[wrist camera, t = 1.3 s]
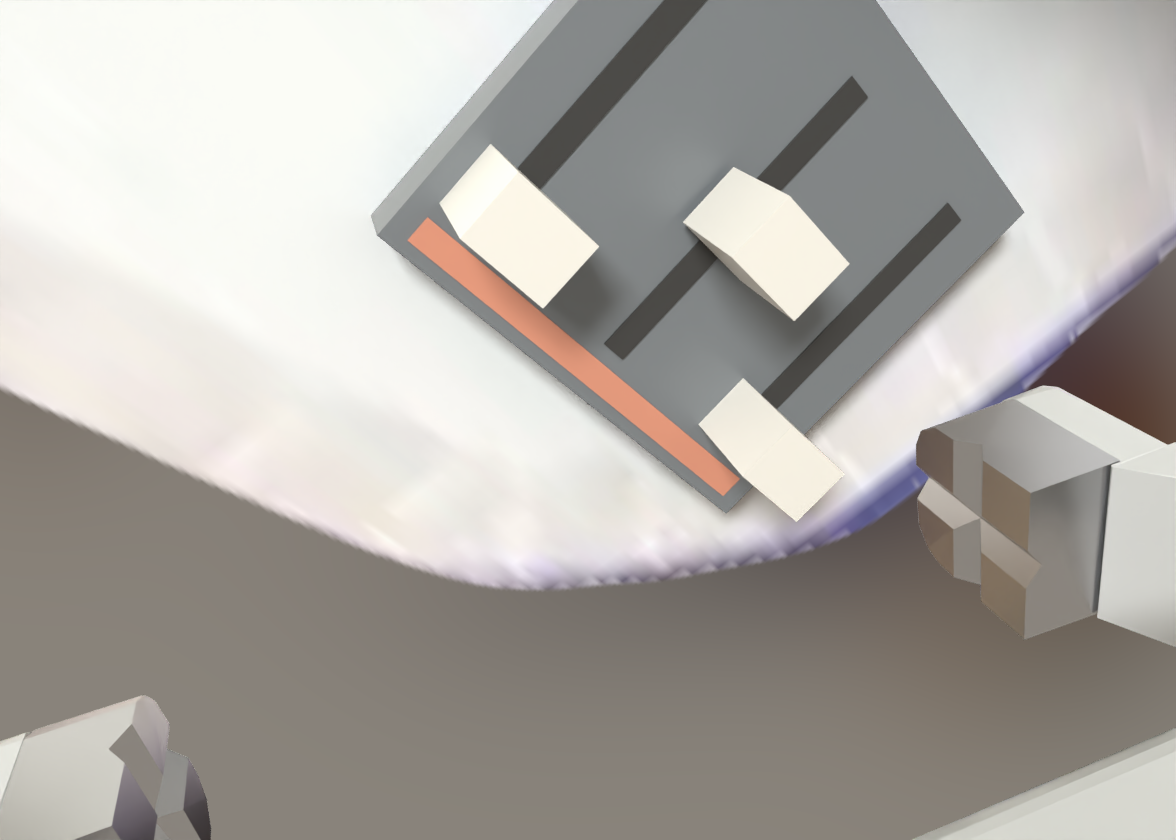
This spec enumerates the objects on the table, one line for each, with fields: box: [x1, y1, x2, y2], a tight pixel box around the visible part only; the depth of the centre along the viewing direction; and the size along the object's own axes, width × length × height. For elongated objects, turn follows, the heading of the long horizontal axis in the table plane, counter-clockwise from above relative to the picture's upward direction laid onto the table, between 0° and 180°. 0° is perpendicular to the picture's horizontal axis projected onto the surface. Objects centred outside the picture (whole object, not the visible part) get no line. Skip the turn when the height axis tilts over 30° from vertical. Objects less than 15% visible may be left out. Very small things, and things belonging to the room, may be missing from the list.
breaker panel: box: [371, 0, 1024, 522], centre depth 39 cm, size 20×22×8 cm
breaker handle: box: [683, 167, 849, 321], centre depth 37 cm, size 3×4×5 cm
